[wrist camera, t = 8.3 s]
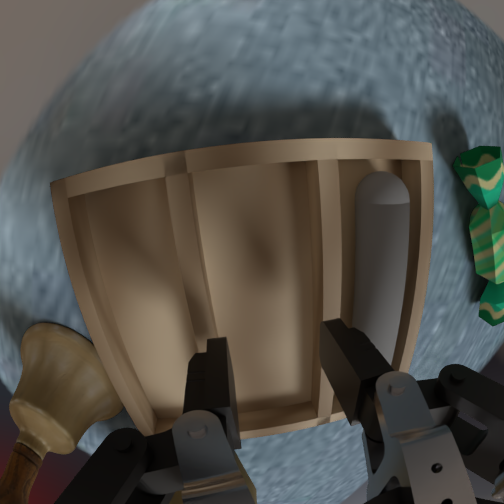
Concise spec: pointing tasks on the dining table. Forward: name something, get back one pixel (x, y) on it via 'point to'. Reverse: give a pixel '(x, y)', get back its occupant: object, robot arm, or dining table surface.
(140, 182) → the wooden compartment tray
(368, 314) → the grey capsule rod
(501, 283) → the candy
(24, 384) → the hand bell
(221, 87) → the dining table surface
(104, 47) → the dining table surface
